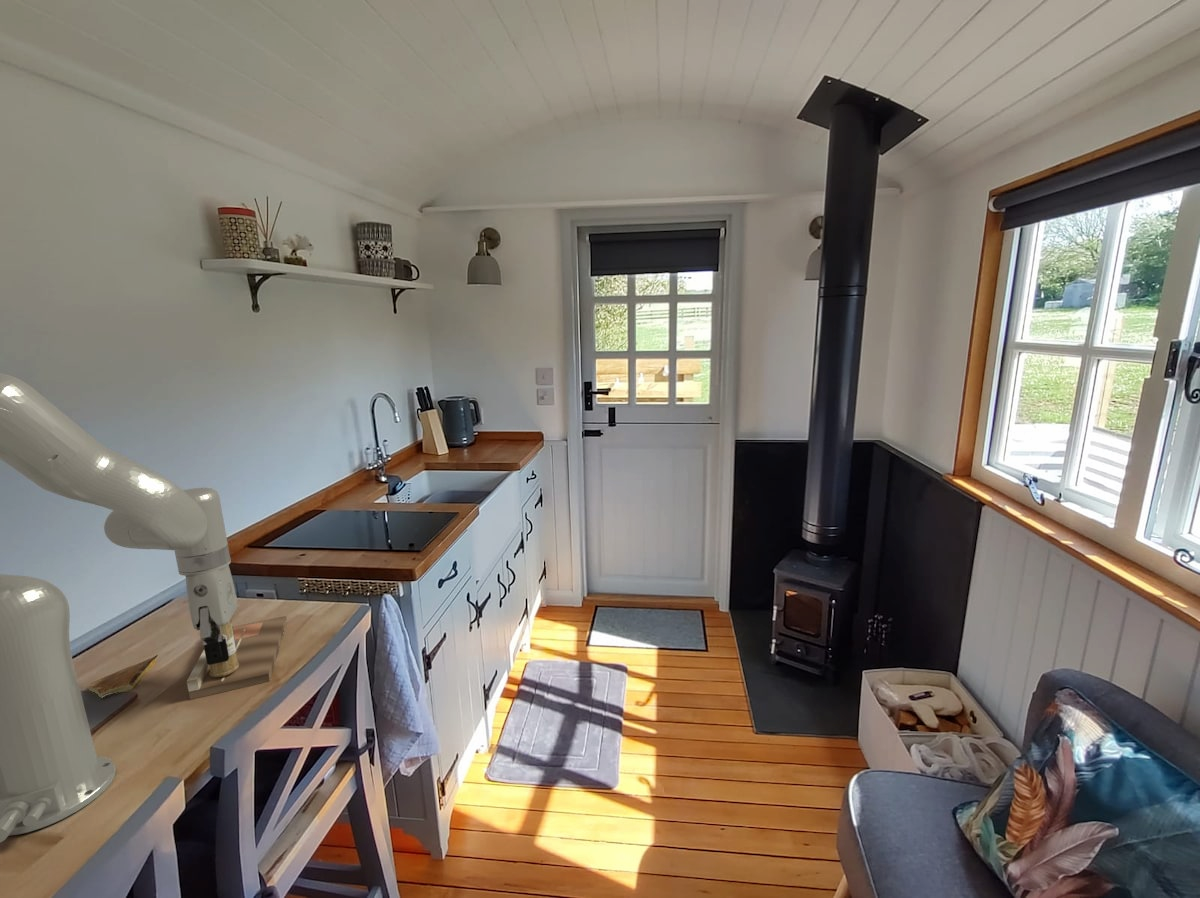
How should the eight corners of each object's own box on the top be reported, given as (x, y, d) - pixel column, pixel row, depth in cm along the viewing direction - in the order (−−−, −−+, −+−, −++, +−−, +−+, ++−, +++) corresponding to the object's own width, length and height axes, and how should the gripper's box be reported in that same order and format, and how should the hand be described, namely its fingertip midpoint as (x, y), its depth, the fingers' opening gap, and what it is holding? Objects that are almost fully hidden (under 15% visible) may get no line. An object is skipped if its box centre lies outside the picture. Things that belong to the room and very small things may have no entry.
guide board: (269, 681, 101) (266, 663, 100) (190, 699, 96) (186, 681, 96) (287, 622, 123) (284, 607, 122) (223, 635, 118) (220, 619, 118)
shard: (159, 661, 110) (157, 653, 110) (176, 672, 106) (174, 663, 106) (88, 691, 101) (86, 682, 101) (104, 704, 97) (102, 695, 97)
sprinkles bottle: (216, 681, 98) (202, 610, 96) (205, 673, 101) (192, 604, 98) (244, 668, 102) (231, 599, 99) (233, 661, 105) (221, 594, 102)
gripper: (217, 572, 91) (236, 674, 94) (239, 540, 106) (254, 629, 110) (161, 581, 88) (182, 686, 92) (192, 547, 104) (209, 638, 107)
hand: (221, 654), depth 101 cm, fingers closed on sprinkles bottle, 4 cm apart
